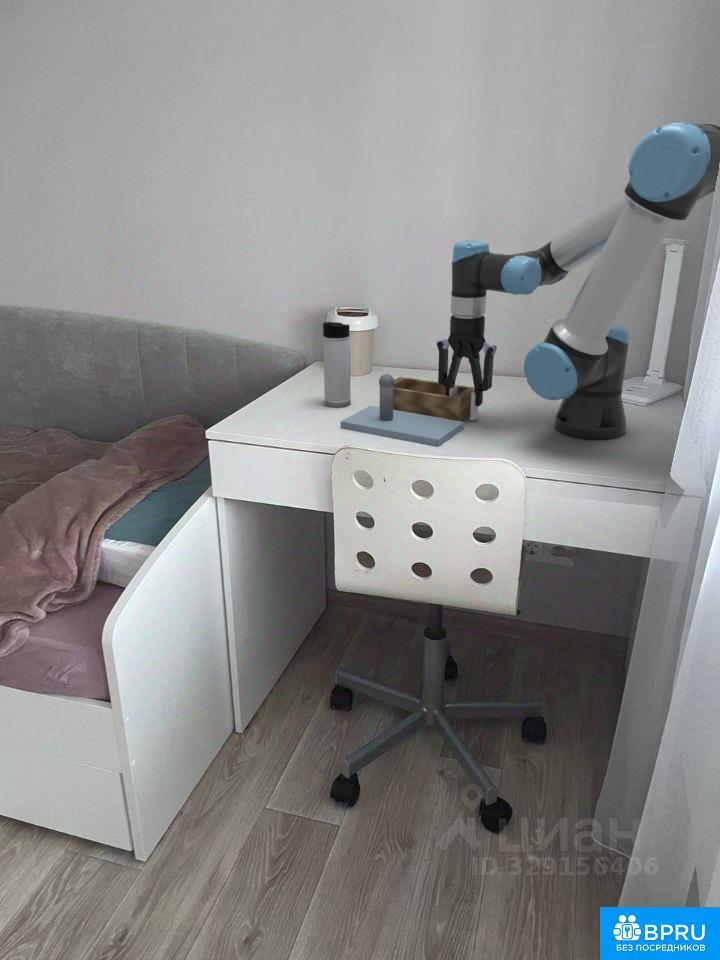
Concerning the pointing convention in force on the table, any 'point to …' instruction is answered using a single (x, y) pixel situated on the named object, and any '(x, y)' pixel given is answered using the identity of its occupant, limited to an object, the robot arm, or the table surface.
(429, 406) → the wooden storage tray
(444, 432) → the plate
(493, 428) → the table surface
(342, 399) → the travel mug
